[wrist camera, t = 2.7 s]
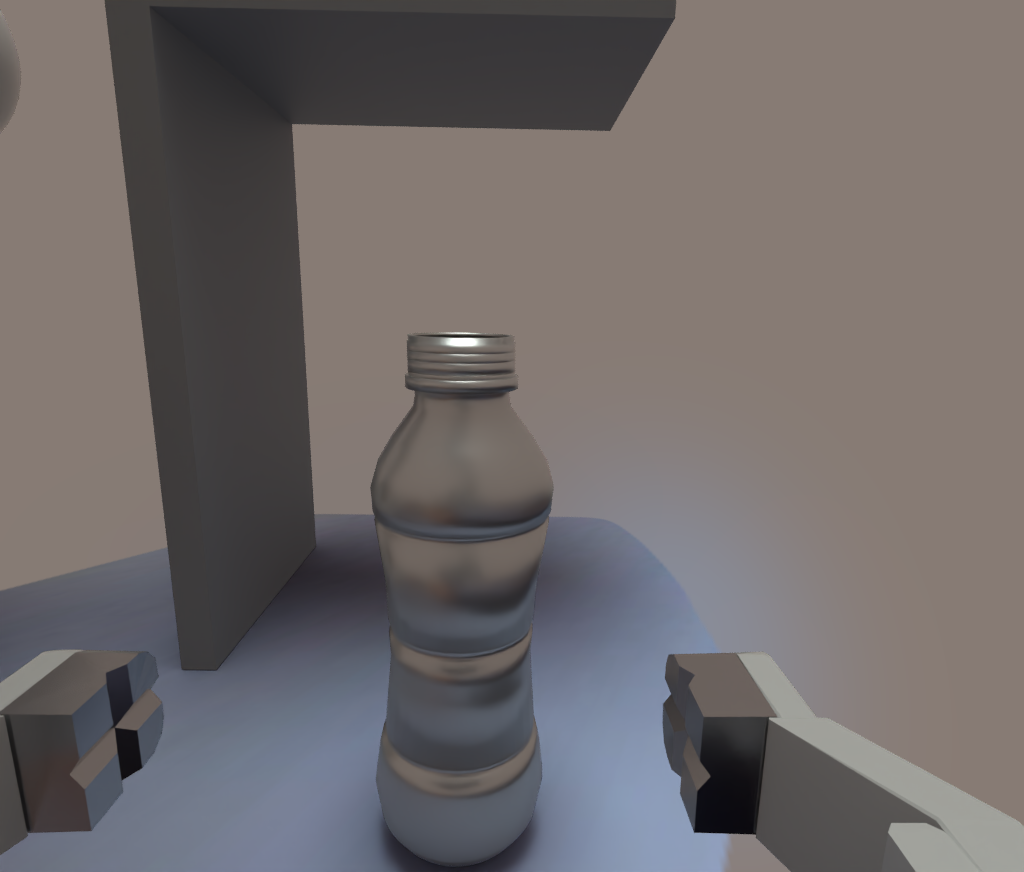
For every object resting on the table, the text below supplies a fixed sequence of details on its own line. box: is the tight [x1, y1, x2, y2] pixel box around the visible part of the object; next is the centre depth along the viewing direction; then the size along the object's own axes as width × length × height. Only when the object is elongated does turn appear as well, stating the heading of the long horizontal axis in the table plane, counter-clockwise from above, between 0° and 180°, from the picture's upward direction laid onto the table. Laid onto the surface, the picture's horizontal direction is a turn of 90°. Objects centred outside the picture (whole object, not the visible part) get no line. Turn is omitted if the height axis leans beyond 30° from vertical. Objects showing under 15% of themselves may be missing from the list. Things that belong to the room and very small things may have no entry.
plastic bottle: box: [371, 333, 553, 867], centre depth 22 cm, size 6×7×20 cm
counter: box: [105, 0, 676, 670], centre depth 39 cm, size 26×18×36 cm
